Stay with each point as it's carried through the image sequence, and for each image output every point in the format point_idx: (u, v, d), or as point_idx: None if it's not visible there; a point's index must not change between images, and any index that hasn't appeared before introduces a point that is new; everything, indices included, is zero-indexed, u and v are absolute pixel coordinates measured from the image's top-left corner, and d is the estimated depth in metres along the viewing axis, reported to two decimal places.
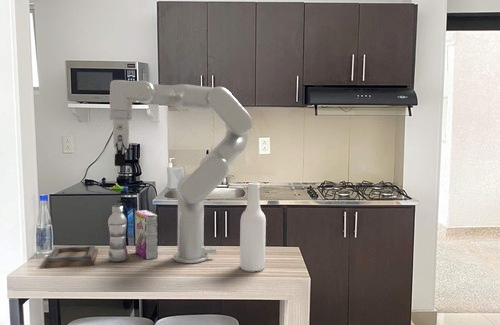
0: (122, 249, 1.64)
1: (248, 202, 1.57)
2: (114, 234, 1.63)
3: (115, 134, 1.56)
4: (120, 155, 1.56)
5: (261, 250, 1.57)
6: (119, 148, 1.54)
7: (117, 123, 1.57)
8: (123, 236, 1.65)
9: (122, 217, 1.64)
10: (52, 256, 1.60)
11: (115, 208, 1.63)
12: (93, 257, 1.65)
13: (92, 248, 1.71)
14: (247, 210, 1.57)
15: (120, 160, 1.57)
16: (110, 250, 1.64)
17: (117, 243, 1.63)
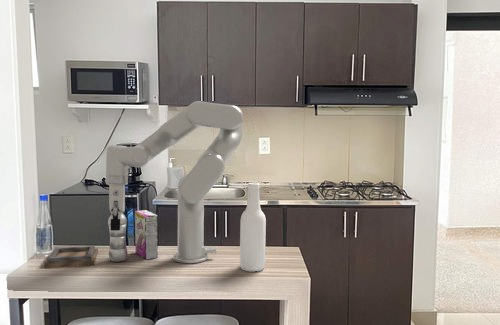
0: (122, 249, 1.64)
1: (248, 202, 1.57)
2: (114, 234, 1.63)
3: (111, 199, 1.59)
4: (116, 220, 1.59)
5: (261, 250, 1.57)
6: (115, 214, 1.57)
7: (113, 189, 1.60)
8: (123, 236, 1.65)
9: (122, 217, 1.64)
10: (52, 256, 1.60)
11: None
12: (93, 257, 1.65)
13: (92, 248, 1.71)
14: (247, 210, 1.57)
15: (116, 225, 1.60)
16: (110, 250, 1.64)
17: (117, 243, 1.63)
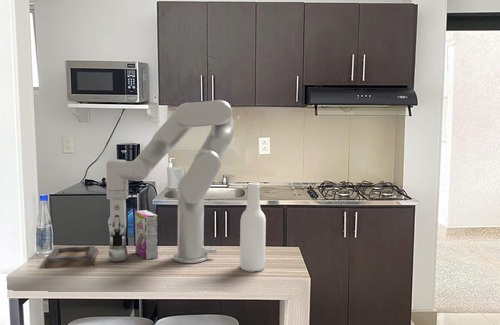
0: (122, 249, 1.64)
1: (248, 202, 1.57)
2: None
3: (112, 214, 1.60)
4: (118, 236, 1.62)
5: (261, 250, 1.57)
6: (116, 231, 1.60)
7: (114, 203, 1.60)
8: (123, 236, 1.65)
9: None
10: (52, 256, 1.60)
11: None
12: (93, 257, 1.65)
13: (92, 248, 1.71)
14: (247, 210, 1.57)
15: (118, 241, 1.62)
16: (110, 250, 1.64)
17: None
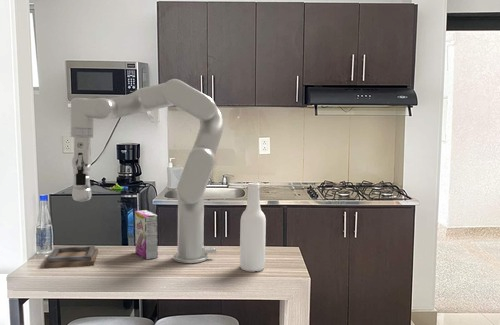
0: (85, 188, 1.62)
1: (248, 202, 1.57)
2: None
3: (75, 152, 1.58)
4: (81, 175, 1.60)
5: (261, 250, 1.57)
6: (79, 169, 1.58)
7: (77, 141, 1.58)
8: (87, 176, 1.63)
9: None
10: (52, 256, 1.60)
11: None
12: (93, 257, 1.65)
13: (92, 248, 1.71)
14: (247, 210, 1.57)
15: (81, 179, 1.60)
16: (73, 189, 1.62)
17: None
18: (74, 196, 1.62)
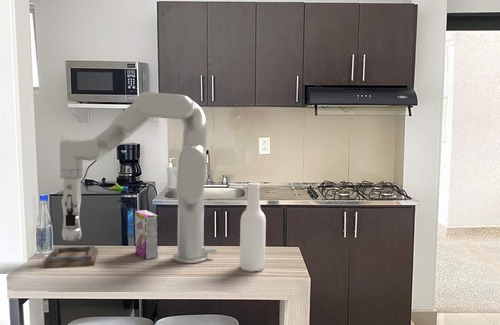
0: (75, 229, 1.64)
1: (248, 202, 1.57)
2: None
3: (64, 193, 1.59)
4: (70, 216, 1.61)
5: (261, 250, 1.57)
6: (69, 210, 1.59)
7: (66, 182, 1.60)
8: (76, 216, 1.64)
9: None
10: (52, 256, 1.60)
11: None
12: (93, 257, 1.65)
13: (92, 248, 1.71)
14: (247, 210, 1.57)
15: (71, 220, 1.61)
16: (63, 230, 1.64)
17: None
18: (64, 237, 1.63)
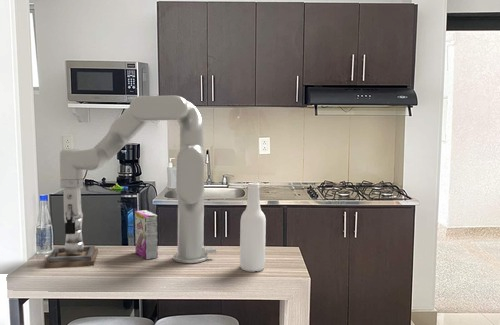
0: (78, 243, 1.66)
1: (248, 202, 1.57)
2: None
3: (65, 203, 1.60)
4: (70, 224, 1.60)
5: (261, 250, 1.57)
6: (68, 218, 1.58)
7: (67, 192, 1.60)
8: (79, 230, 1.66)
9: None
10: (52, 256, 1.60)
11: None
12: (93, 257, 1.65)
13: (92, 248, 1.71)
14: (247, 210, 1.57)
15: (70, 228, 1.60)
16: (66, 244, 1.65)
17: (72, 237, 1.65)
18: (66, 251, 1.65)
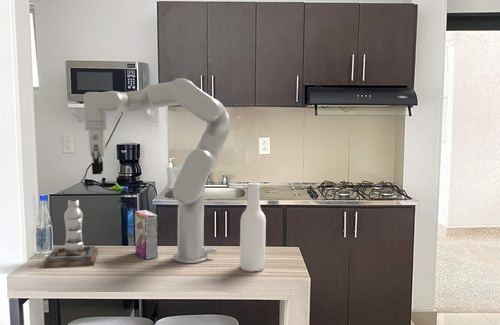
0: (78, 243, 1.66)
1: (248, 202, 1.57)
2: (70, 228, 1.65)
3: (91, 144, 1.63)
4: (97, 164, 1.64)
5: (261, 250, 1.57)
6: (95, 157, 1.61)
7: (92, 133, 1.64)
8: (79, 230, 1.66)
9: (78, 211, 1.65)
10: (52, 256, 1.60)
11: (71, 202, 1.65)
12: (93, 257, 1.65)
13: (92, 248, 1.71)
14: (247, 210, 1.57)
15: (97, 168, 1.64)
16: (66, 244, 1.65)
17: (72, 237, 1.65)
18: (66, 251, 1.65)
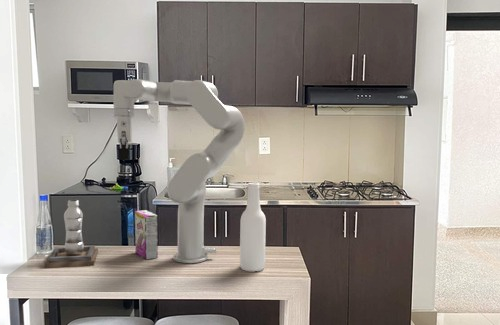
0: (78, 243, 1.66)
1: (248, 202, 1.57)
2: (70, 228, 1.65)
3: (119, 130, 1.70)
4: (124, 149, 1.70)
5: (261, 250, 1.57)
6: (123, 143, 1.67)
7: (121, 120, 1.70)
8: (79, 230, 1.66)
9: (77, 211, 1.65)
10: (52, 256, 1.60)
11: (70, 202, 1.65)
12: (93, 257, 1.65)
13: (92, 248, 1.71)
14: (247, 210, 1.57)
15: (124, 154, 1.70)
16: (66, 244, 1.65)
17: (72, 237, 1.65)
18: (66, 251, 1.65)
